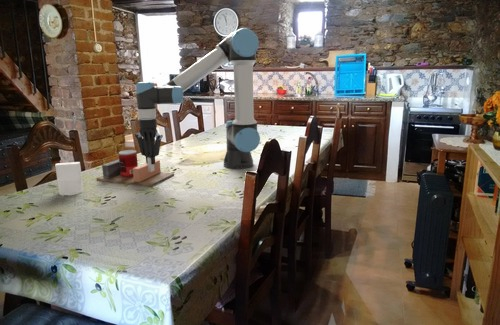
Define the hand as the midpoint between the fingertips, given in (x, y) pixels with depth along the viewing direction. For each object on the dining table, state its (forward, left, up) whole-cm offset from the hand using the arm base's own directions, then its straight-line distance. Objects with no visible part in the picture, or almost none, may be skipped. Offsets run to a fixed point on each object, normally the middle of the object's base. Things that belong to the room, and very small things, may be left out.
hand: (151, 171), depth 167 cm
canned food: (+12, 0, -3) cm, 13 cm away
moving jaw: (+2, 0, -3) cm, 4 cm away
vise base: (+9, 0, -4) cm, 9 cm away
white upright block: (+22, +25, -4) cm, 33 cm away
